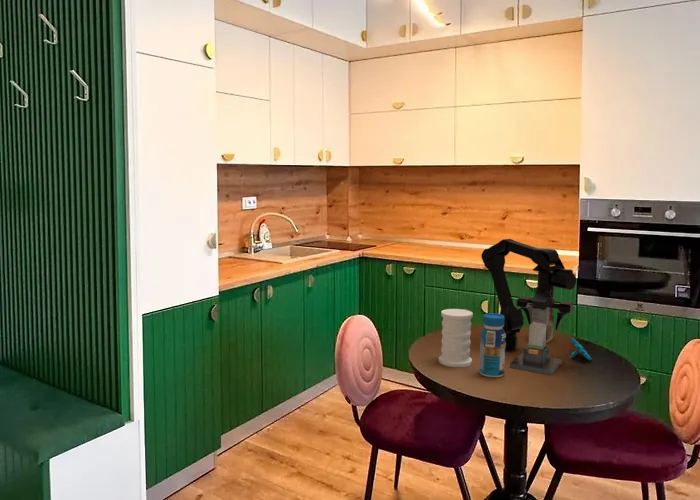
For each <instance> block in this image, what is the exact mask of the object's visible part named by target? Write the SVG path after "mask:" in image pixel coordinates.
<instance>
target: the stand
mask: <svg viewBox="0 0 700 500" xmlns="http://www.w3.org/2000/svg"><path fill="white" fill-rule="evenodd" d="M522 351H523V352H521V354H519V355H518V356H517V357H516V358H515V359H513V360H512V361H511V362H510V363H509V368H511V369H517V370H521V371H527V372H532V373H539V374H542V375H543V374H544V375H549V376H552V375H553V374H554V373H555V372H556V371H557V369H558V368H560V366H561V365H562V359H560V358H559V359H558V358H555V357H554V358H553V357H550V355H551V353H550V352H551V346H547V345H546V347H545V349H544V350H543V351H541V350H535V349H529V348H528V344H527V345H525V346H524V347H523V350H522Z"/></svg>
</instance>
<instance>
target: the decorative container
mask: <svg viewBox="0 0 700 500" xmlns="http://www.w3.org/2000/svg"><path fill="white" fill-rule="evenodd" d="M440 314H441V317H442V321H441V325H442V328H441V329H442V330H441V335H442V338H441V349H440V351H441V355H439V356H438V363H439V364H441V365H442V366H445V367H450V368H468V367H470V366H471V365H472V364H473V359H472V357H470V354H471V348H470V347H471V343H472V342H471V335H472V331H471V328H472V321H471V320H472V318H473V316H474V315H473V314H474V313H473V312H472V311H470V310H468V309H463V308H446V309H443V310H441V313H440Z"/></svg>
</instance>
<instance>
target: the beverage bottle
mask: <svg viewBox="0 0 700 500" xmlns="http://www.w3.org/2000/svg"><path fill="white" fill-rule="evenodd" d="M504 320H505V318H504V316H503V315H501V314H500V313H492V312H491V313H485V314H484V315H483V321H482V322H483V326H484V327H483V328H482V330H481V332H480V338H481V339H480V340H479V346H480V347H479V368H478V369H479V370H478V371H479V373H480V375H482V376H484V377H487V378H500V377H503V376H504V375H505V362H506V361H505V360H506V351H505V347H506V342H505V338H506V334H505V331H504V329H503V328H502V327H503V326H504Z"/></svg>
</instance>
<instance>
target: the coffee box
mask: <svg viewBox="0 0 700 500" xmlns="http://www.w3.org/2000/svg"><path fill="white" fill-rule="evenodd" d="M554 317H555V308H549V307H547V309H545V310H541V309H534V308H533V307H532V323H533V322H536V323H543V324H547V326H546V344H548V343H549V342H550V341H552V340H553V335H554Z"/></svg>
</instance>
